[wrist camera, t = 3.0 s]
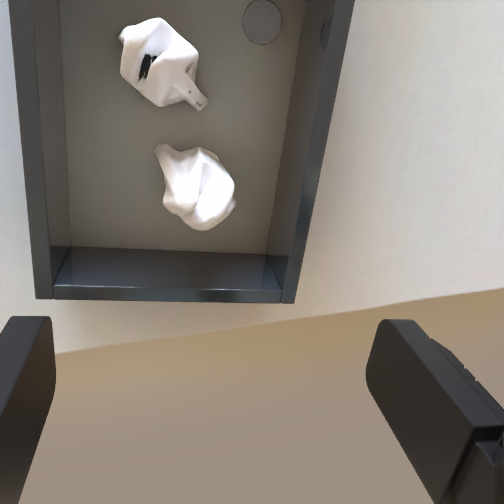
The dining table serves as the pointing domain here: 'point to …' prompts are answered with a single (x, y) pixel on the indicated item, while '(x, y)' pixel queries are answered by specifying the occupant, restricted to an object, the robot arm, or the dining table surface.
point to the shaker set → (169, 92)
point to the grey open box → (161, 261)
